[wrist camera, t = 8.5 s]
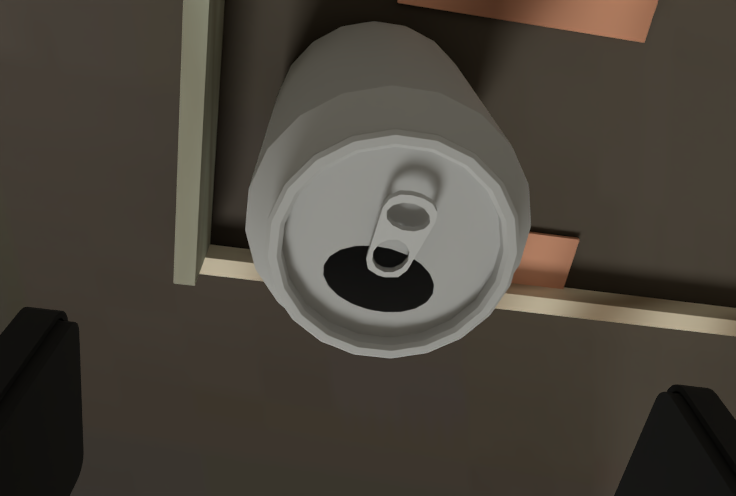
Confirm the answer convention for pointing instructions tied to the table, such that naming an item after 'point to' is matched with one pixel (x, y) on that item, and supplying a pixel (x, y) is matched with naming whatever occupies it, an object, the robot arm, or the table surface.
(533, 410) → the table surface
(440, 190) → the can
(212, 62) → the tan bent flat bar
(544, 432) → the table surface
